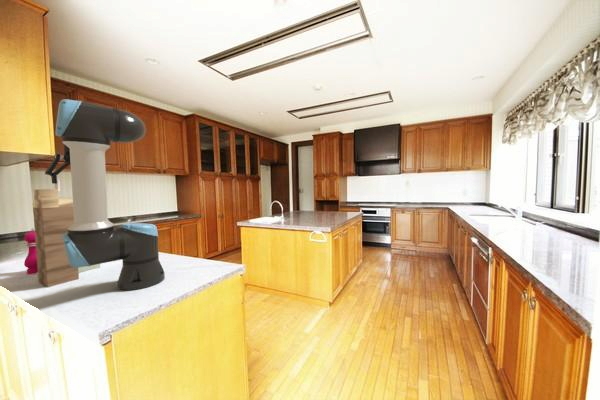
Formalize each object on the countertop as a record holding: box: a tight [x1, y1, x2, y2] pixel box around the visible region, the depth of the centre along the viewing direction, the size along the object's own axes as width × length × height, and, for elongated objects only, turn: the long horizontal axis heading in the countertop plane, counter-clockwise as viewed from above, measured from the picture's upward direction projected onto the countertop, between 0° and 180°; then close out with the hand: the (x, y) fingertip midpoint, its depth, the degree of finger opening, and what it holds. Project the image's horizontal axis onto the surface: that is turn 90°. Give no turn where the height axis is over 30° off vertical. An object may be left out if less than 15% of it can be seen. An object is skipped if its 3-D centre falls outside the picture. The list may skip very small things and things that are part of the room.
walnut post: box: [32, 206, 80, 288], centre depth 92 cm, size 9×9×30 cm
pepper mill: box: [23, 227, 38, 275], centre depth 104 cm, size 7×7×20 cm
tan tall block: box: [33, 188, 73, 208], centre depth 96 cm, size 7×18×7 cm, turn 153°
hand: (77, 190), depth 109 cm, fingers open, 13 cm apart
